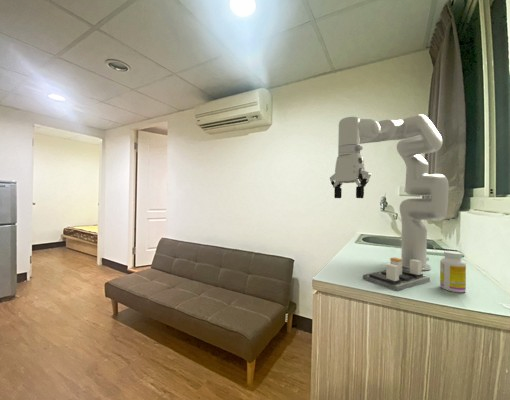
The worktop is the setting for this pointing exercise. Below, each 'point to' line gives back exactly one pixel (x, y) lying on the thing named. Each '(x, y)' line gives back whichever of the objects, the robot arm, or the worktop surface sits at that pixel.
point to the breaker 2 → (415, 267)
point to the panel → (404, 280)
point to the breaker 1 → (392, 272)
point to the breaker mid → (397, 263)
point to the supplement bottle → (453, 272)
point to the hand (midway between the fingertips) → (348, 198)
